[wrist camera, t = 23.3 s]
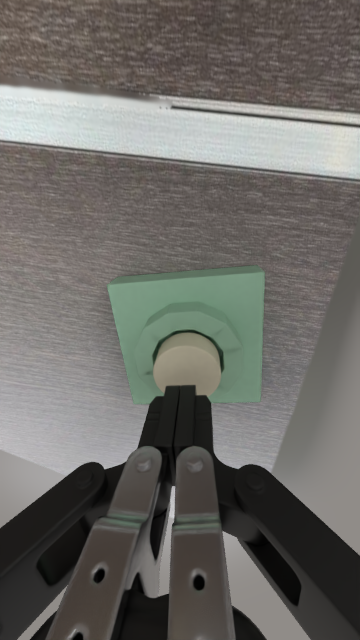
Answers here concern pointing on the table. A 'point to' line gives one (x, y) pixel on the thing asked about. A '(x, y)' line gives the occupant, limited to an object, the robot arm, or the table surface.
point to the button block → (193, 325)
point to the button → (188, 363)
